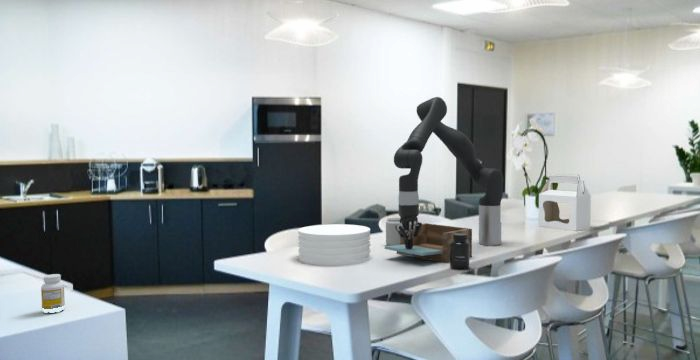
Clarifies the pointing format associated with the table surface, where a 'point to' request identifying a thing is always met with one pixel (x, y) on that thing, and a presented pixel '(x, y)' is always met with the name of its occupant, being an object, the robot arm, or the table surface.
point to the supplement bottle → (459, 252)
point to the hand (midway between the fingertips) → (409, 248)
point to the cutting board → (413, 250)
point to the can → (392, 232)
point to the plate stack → (334, 244)
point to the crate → (438, 240)
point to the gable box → (577, 199)
